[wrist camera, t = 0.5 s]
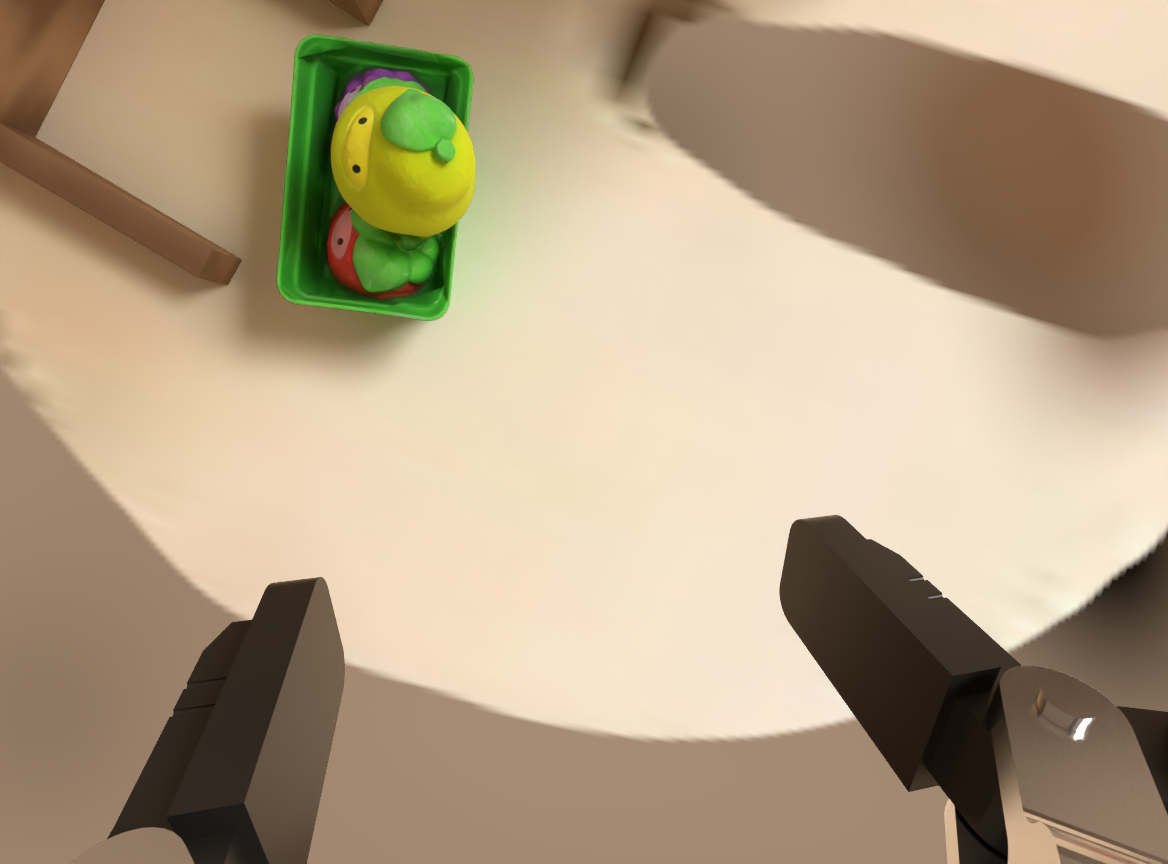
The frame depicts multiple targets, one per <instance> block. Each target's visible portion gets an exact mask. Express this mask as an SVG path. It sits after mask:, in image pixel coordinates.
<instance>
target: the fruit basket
mask: <svg viewBox="0 0 1168 864" xmlns="http://www.w3.org/2000/svg"><path fill="white" fill-rule="evenodd" d="M472 89H473V72H472V69H471V67H470V66H469V64H468V63H467V62H465V61H464V60H463V59H461V58H459V57H457V56H452V55H447V54H435V53H430V52H426V51H421V50H416V49H409V48H403V47H397V46H391V45H383V44H377V43H373V42H364V41H357V40H351V39H346V38H341V37H332V36H324V35H310V36H308V37H306V38H304V39H303V40H301V42H300V43H299V44H298V46H297V48H296V51H295V55H294V73H293V87H292V99H291V117H290V127H289V140H288V151H287V163H286V174H285V185H284V201H283V213H282V226H281V236H280V250H279V259H278V269H277V287H278V290H279V292H280V294H281V295H282V296H283V297H284V298H285V299H286V300H287V301H289V302H291V303H294V304H298V305H308V306H318V307H327V308H336V309H344V310H352V311H360V312H368V313H375V314H383V315H390V316H397V317H403V318H410V319H417V320H423V321H432V320H436V319H439V318H440V317H442V316H443V315H444V314H445V313H446V312H447V310H448V307H449V304H450V295H451V284H452V274H453V265H454V255H455V245H456V236H457V227H458V220H459V219H460V218H461V217H462V216H463V215H464V213H465V211H466V210H467V208H468V206H469V204H470V202H471V199H472V196H473V192H474V188H475V177H476V167H475V154H474V149H473V145H472V142H471V139H470V136H469V134H468V124H469V115H470V106H471V97H472Z"/></svg>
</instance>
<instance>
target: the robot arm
mask: <svg viewBox="0 0 1168 864" xmlns="http://www.w3.org/2000/svg"><path fill="white" fill-rule="evenodd" d="M780 601H781V605H782V609H783V612H784V614H785V616H786V618H787V620H788V622H789V623H790V625H791V626H792V628H793V629H794V630H795V632H796V633H797V635H798V636H799V638H800V639H801V640H802V642H803V643H804V645H805V646H806V647H807V649H808V650H809V652H810V653H811V655H812V656H813V657H814V659H815V660H816V662H817V663H818V664H819V666H820V667H821V669H822V670H823V671H824V673H825V674H826V676H827V677H828V679H829V680H830V681H831V683H832V684H833V686H834V687H835V688H836V690H837V691H838V693H839V694H840V696H841V697H842V698H843V700H844V701H845V703H846V704H847V705H848V707H849V708H850V710H851V711H852V713H853V714H854V715H855V717H856V718H857V720H858V721H859V722H860V724H861V725H862V727H863V728H864V729H865V731H866V732H867V734H868V735H869V737H870V738H871V739H872V741H873V742H874V743H875V745H876V746H877V748H878V749H879V751H880V752H881V753H882V755H883V756H884V758H885V759H886V761H887V762H888V763H889V765H890V766H891V768H892V769H893V770H894V772H895V773H896V774H897V776H898V778H899V779H900V780H901V782H902V783H903V785H904V786H905V787H906V789H907V790H908V792H910V791H915V790H920V789H924V788H929V787H933V786H938V785H939V786H940V787H941V788H942V790H943V791H944V792H945V794H946V795H947V796H948V798H949V800H948V802H947V804H946V808H945V832H946V848H947V862H948V864H1168V712H1163V711H1154V710H1146V709H1137V708H1128V707H1120V706H1116V705H1115V704H1113V703H1112V702H1111V701H1110V700H1109V699H1108V698H1107V697H1105V696H1104V695H1102V694H1101V693H1100V692H1098V691H1097V690H1096V689H1094V688H1092V687H1090V686H1089V685H1087V684H1086V683H1084V682H1082V681H1080V680H1078V679H1076V678H1074V677H1072V676H1069V675H1067V674H1065V673H1062V672H1059V671H1056V670H1053V669H1049V668H1045V667H1040V666H1030V665H1029V666H1028V665H1023V666H1022V665H1021V664H1019V663H1018V662H1017V661H1016V660H1015V659H1014V658H1013V657H1012V656H1011V655H1010V654H1008V653H1007V652H1006V651H1005V650H1004V649H1003V648H1002V647H1001V646H1000V645H998V644H997V643H996V642H995V641H994V640H993V639H992V638H991V637H990V636H989V635H987V634H986V633H985V632H984V631H983V630H982V629H981V628H980V627H979V626H978V625H976V624H975V623H974V622H973V621H972V620H971V619H970V618H969V617H968V616H967V615H965V614H964V613H963V612H962V611H961V610H960V609H959V608H958V607H957V606H956V605H954V604H953V603H952V602H951V601H950V600H949V599H948V598H943V597H942V593H941V592H940V591H939V590H938V589H937V588H936V587H935V586H934V585H932V584H931V583H930V582H929V581H928V580H925V581H924V579H923V575H921V574H920V573H919V572H918V571H917V570H916V569H915V568H914V567H913V566H912V565H910V564H909V563H908V562H907V561H906V560H905V559H904V558H903V557H902V556H901V555H899V554H897V553H895V552H893V551H891V550H890V549H888V548H886V547H884V546H882V545H880V544H879V543H877V542H875V541H873V540H871V539H868V540H866V539H865V538H864V537H863V536H862V535H861V534H860V533H859V532H858V531H857V530H856V529H855V528H854V527H853V526H852V525H851V524H849V523H848V522H847V521H846V520H845V519H844V518H843V517H841V516H838V515H832V516H824V517H815V518H807V519H799V520H796V521H795V522H794V523H793V524H792V526H791V529H790V533H789V538H788V544H787V549H786V555H785V560H784V566H783V571H782V577H781V582H780ZM344 676H345V663H344V652H343V647H342V643H341V639H340V634H339V630H338V626H337V622H336V618H335V614H334V610H333V606H332V602H331V598H330V594H329V590H328V586H327V584H326V581H325V580H324V579H323V578H322V577H318V578H310V579H302V580H294V581H286V582H277V583H271V584H269V585H268V586H267V588H266V590H265V592H264V594H263V596H262V598H261V601H260V603H259V605H258V608H257V610H256V612H255V615H254V617H253V619H252V620H247V621H239V622H232V623H231V624H230V625H229V626H228V627H227V628H226V629H225V630H224V631H223V632H222V633H221V634H220V635H219V636H218V637H217V638H216V639H215V640H214V641H213V642H212V643H211V644H210V645H209V646H208V647H207V648H206V649H205V650H204V651H203V652H202V654H201V656H200V658H199V660H198V662H197V664H196V666H195V668H194V670H193V672H192V674H191V676H190V678H189V680H188V682H187V689H184V690H183V692H182V694H181V696H180V698H179V700H178V702H177V704H176V706H175V708H174V710H173V711H174V714H173V717H169V720H168V721H167V724H166V725H165V727H164V729H163V731H162V733H161V735H160V737H159V739H158V741H157V743H156V745H155V747H154V749H153V751H152V753H151V755H150V757H149V759H148V761H147V763H146V765H145V767H144V769H143V771H142V773H141V775H140V777H139V779H138V781H137V783H136V785H135V787H134V789H133V791H132V792H131V794H130V796H129V798H128V800H127V802H126V804H125V806H124V808H123V811H122V812H121V814H120V816H119V818H118V821H117V822H116V824H115V826H114V828H113V830H112V831H111V833H110V835H109V837H108V838H107V840H105V841H103V842H101V843H99V844H97V845H96V846H94V847H92V848H91V849H89V850H87V851H86V852H84V853H83V854H82V855H80V856H79V857H78V858H76V859H75V860H73V861H72V862H71V863H69V864H307V859H308V854H309V850H310V845H311V840H312V836H313V831H314V826H315V821H316V816H317V812H318V807H319V802H320V797H321V793H322V788H323V783H324V778H325V773H326V769H327V763H328V759H329V755H330V750H331V745H332V740H333V735H334V731H335V726H336V721H337V716H338V712H339V707H340V702H341V697H342V693H343V687H344Z"/></svg>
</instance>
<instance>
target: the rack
mask: <svg viewBox="0 0 1168 864" xmlns="http://www.w3.org/2000/svg"><path fill="white" fill-rule="evenodd" d="M330 1H332V2H333V3H335V4H336V5H338V6H339V7H341V8H342V9H344V10H346V11H347V12H349V13H350V14H352V15H353V16H355V17H356V18H358V19H360V20H361V21H363V22H364V23H366V24H367V25H370V23H371V21H372V19H373V17H374V16H375V14H376V12H377V10H378V8H379V6H380V5H381V3H382V1H383V0H330ZM103 2H104V0H0V162H2V163H4V164H5V165H7V166H9V167H11V168H12V169H14V170H16V171H17V172H19V173H21V174H22V175H24V176H26V177H28V178H29V179H31V180H33V181H34V182H36V183H38V184H40V185H41V186H43V187H45V188H46V189H48V190H50V191H51V192H53V193H55V194H57V195H58V196H60V197H62V198H63V199H65V200H67V201H69V202H70V203H72V204H74V205H75V206H77V207H79V208H80V209H82V210H84V211H86V212H87V213H89V214H91V215H92V216H94V217H96V218H98V219H99V220H101V221H103V222H104V223H106V224H108V225H109V226H111V227H113V228H115V229H116V230H118V231H120V232H121V233H123V234H125V235H127V236H128V237H130V238H132V239H133V240H135V241H137V242H139V243H140V244H142V245H144V246H145V247H147V248H149V249H150V250H152V251H154V252H156V253H157V254H159V255H161V256H162V257H164V258H166V259H168V260H169V261H171V262H173V263H174V264H176V265H178V266H179V267H181V268H183V269H185V270H186V271H188V272H190V273H191V274H193V275H195V276H197V277H199V278H203V279H206V280H210V281H214V282H218V283H222V284H226V285H228V284H229V282H230V280H231V278H232V276H233V275H234V273H235V271H236V269H237V267H238V265H239V264H240V262H241V259H239V258H237V257H236V256H234V255H232V254H231V253H229V252H227V251H226V250H224V249H222V248H221V247H219V246H217V245H216V244H214V243H212V242H210V241H209V240H207V239H205V238H204V237H202V236H200V235H199V234H197V233H195V232H194V231H192V230H190V229H189V228H187V227H185V226H183V225H182V224H180V223H178V222H177V221H175V220H173V219H172V218H170V217H168V216H167V215H165V214H163V213H162V212H160V211H158V210H157V209H155V208H153V207H151V206H150V205H148V204H146V203H145V202H143V201H141V200H140V199H138V198H136V197H135V196H133V195H131V194H130V193H128V192H126V191H124V190H123V189H121V188H119V187H118V186H116V185H114V184H113V183H111V182H109V181H108V180H106V179H104V178H103V177H101V176H99V175H97V174H96V173H94V172H92V171H91V170H89V169H87V168H86V167H84V166H82V165H81V164H79V163H77V162H76V161H74V160H72V159H70V158H69V157H67V156H65V155H64V154H62V153H60V152H59V151H57V150H55V149H54V148H52V147H50V146H49V145H47V144H45V143H44V142H42V141H40V140H38V139H37V138H35V136H36V134H37V132H38V130H39V128H40V126H41V124H42V122H43V120H44V118H45V116H46V114H47V112H48V110H49V108H50V106H51V104H52V102H53V100H54V98H55V96H56V94H57V92H58V90H59V89H60V87H61V85H62V83H63V81H64V79H65V77H66V75H67V73H68V71H69V69H70V67H71V65H72V63H73V61H74V59H75V57H76V55H77V53H78V51H79V49H80V47H81V45H82V43H83V41H84V39H85V37H86V35H87V33H88V31H89V29H90V27H91V25H92V23H93V21H94V20H95V18H96V16H97V14H98V12H99V10H100V8H101V6H102V4H103Z"/></svg>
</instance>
